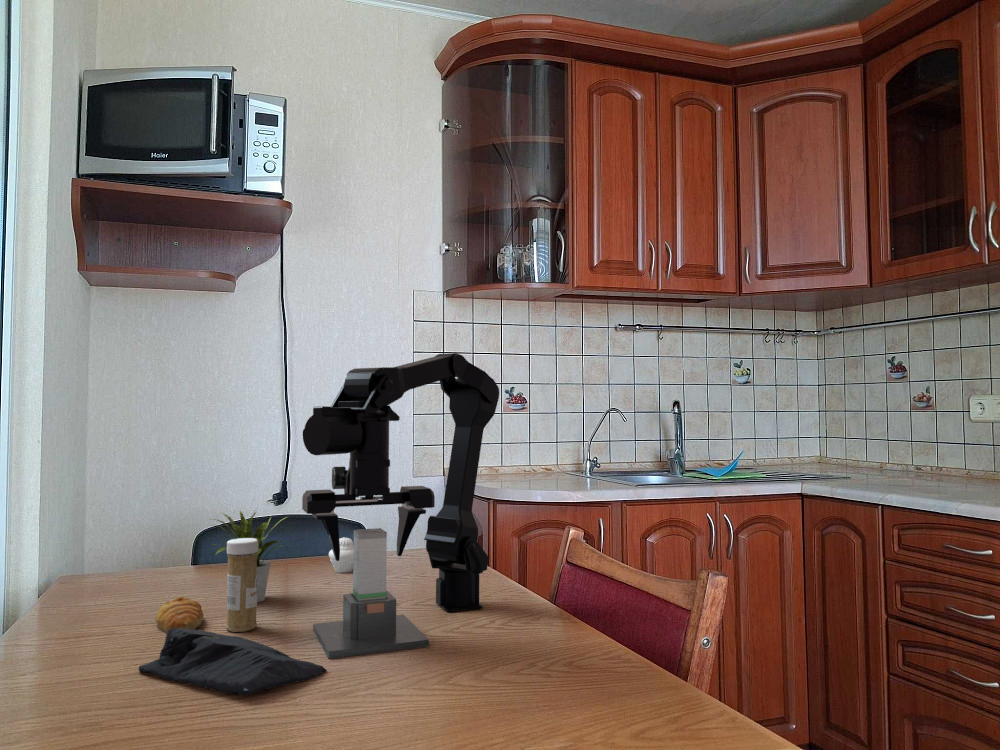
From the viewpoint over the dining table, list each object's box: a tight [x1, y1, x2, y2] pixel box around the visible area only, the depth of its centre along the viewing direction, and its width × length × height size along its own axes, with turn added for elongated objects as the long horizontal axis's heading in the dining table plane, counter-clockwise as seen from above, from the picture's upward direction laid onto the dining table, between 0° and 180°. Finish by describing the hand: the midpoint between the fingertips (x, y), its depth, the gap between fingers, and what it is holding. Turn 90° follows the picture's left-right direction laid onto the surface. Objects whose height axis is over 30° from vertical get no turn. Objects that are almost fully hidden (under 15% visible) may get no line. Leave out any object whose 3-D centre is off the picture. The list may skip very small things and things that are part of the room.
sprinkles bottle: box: [225, 537, 258, 633], centre depth 116 cm, size 5×5×14 cm
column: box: [352, 527, 388, 602], centre depth 111 cm, size 4×4×10 cm
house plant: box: [210, 509, 291, 603], centre depth 133 cm, size 14×14×16 cm
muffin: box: [328, 536, 354, 574], centre depth 156 cm, size 6×6×7 cm
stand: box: [312, 590, 430, 660], centre depth 111 cm, size 14×14×6 cm
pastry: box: [154, 596, 205, 634], centre depth 117 cm, size 9×7×4 cm
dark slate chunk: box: [138, 628, 328, 696], centre depth 97 cm, size 15×22×5 cm
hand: (368, 558), depth 112 cm, fingers open, 9 cm apart
